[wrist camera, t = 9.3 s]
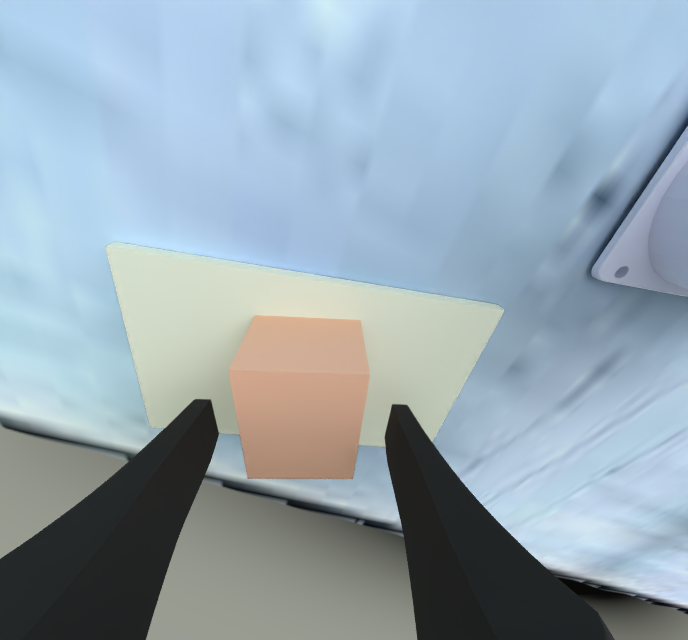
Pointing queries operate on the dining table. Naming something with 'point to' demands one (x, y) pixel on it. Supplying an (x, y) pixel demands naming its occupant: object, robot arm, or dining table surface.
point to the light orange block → (300, 396)
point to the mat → (289, 301)
